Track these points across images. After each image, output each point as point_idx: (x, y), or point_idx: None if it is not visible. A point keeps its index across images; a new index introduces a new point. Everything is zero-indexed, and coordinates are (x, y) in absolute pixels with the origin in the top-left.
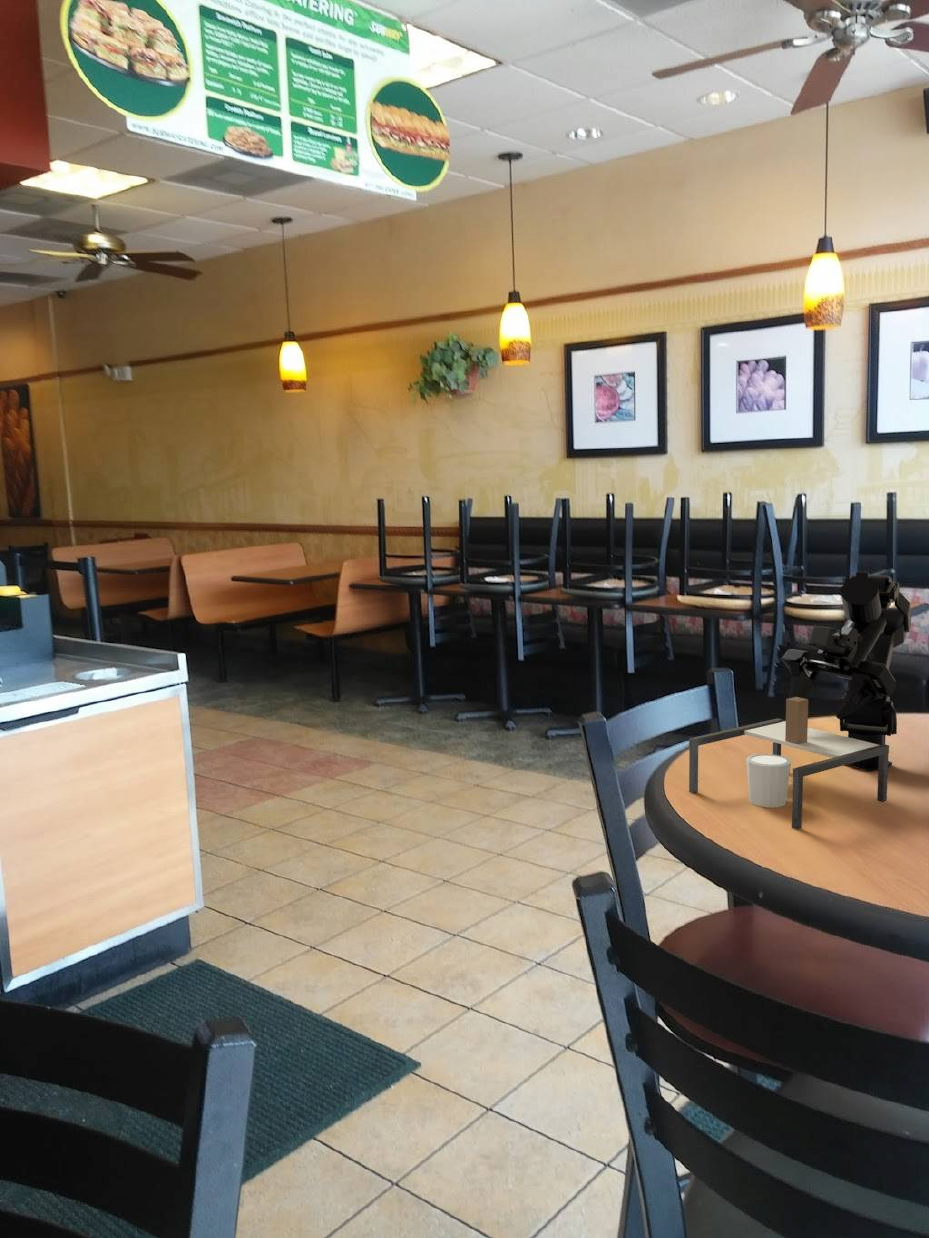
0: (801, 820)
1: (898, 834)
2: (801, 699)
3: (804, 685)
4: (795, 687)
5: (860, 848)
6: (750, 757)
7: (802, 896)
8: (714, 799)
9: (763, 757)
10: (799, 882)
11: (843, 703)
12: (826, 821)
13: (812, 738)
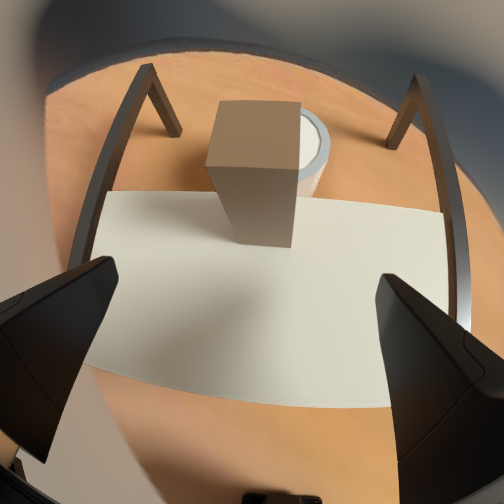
0: (167, 129)
1: (70, 218)
2: (235, 141)
3: (423, 436)
4: (432, 329)
5: (93, 146)
6: (316, 124)
7: (113, 53)
8: (344, 138)
9: (300, 146)
10: (122, 61)
11: (61, 277)
12: (156, 183)
13: (250, 292)
